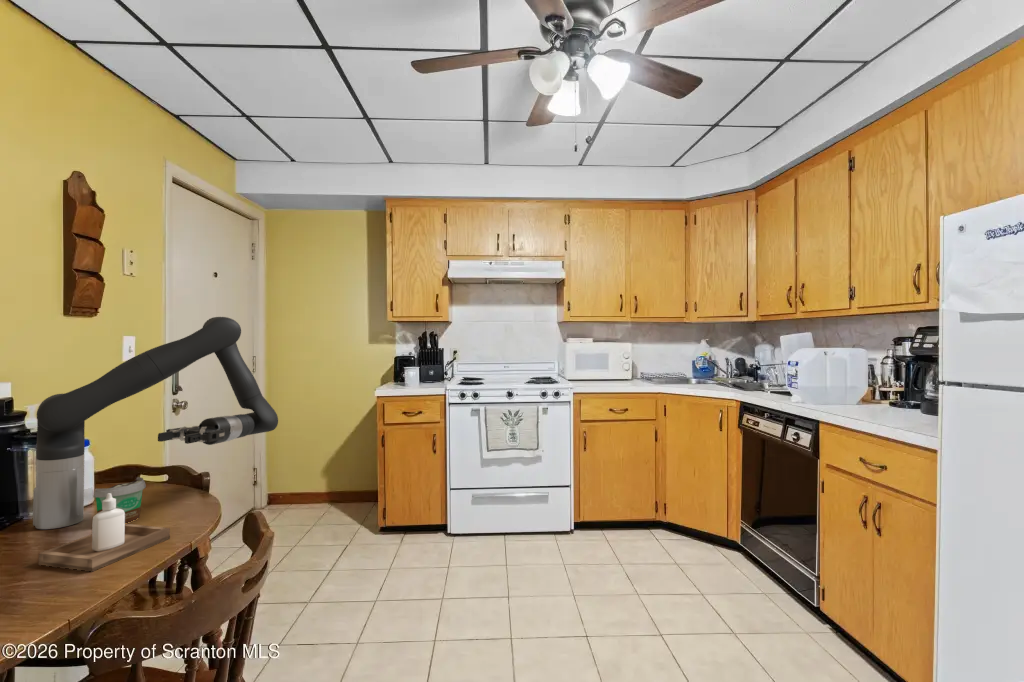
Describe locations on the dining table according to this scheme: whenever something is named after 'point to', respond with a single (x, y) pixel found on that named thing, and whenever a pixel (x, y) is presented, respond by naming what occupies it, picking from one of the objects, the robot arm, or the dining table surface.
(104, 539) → the eye dropper bottle
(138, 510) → the food container
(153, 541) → the walnut tray
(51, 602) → the dining table surface
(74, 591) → the dining table surface
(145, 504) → the dining table surface
